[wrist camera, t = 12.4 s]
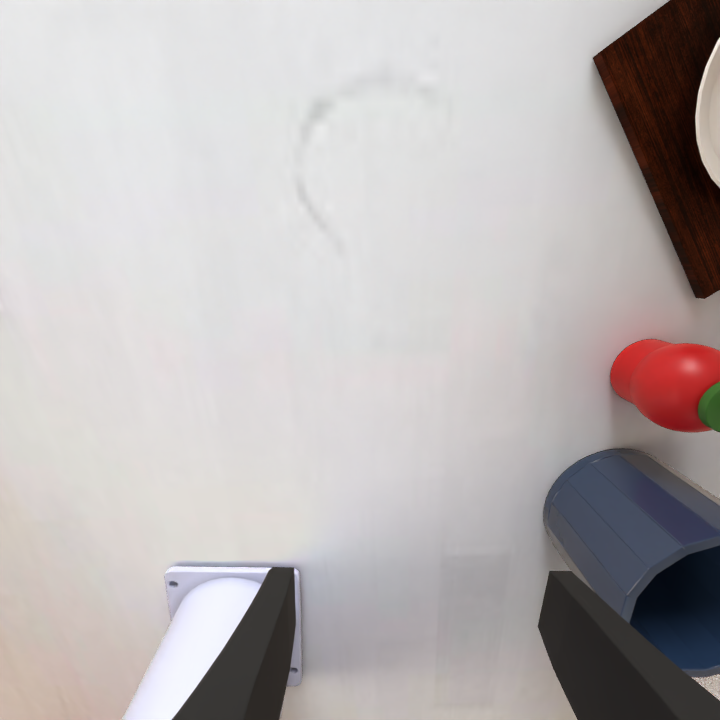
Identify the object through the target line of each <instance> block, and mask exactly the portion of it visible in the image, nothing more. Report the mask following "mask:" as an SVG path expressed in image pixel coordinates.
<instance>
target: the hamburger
mask: <svg viewBox="0 0 720 720" xmlns="http://www.w3.org/2000/svg"><path fill="white" fill-rule="evenodd" d="M593 60H594V62H595V65H596V67H597V69H598V71H599V74H600V76H601V78H602V81H603V83H604V85H605V88H606V90H607V92H608V95H609V97H610V99H611V102H612V104H613V106H614V109H615V111H616V113H617V116H618V118H619V120H620V122H621V125H622V127H623V129H624V132H625V134H626V136H627V139H628V141H629V143H630V146H631V148H632V150H633V153H634V155H635V157H636V160H637V162H638V164H639V166H640V169H641V171H642V173H643V176H644V178H645V180H646V183H647V185H648V187H649V190H650V192H651V194H652V197H653V199H654V201H655V204H656V206H657V208H658V211H659V213H660V215H661V217H662V220H663V222H664V224H665V227H666V229H667V231H668V234H669V236H670V238H671V241H672V243H673V245H674V248H675V250H676V252H677V255H678V257H679V259H680V262H681V264H682V266H683V268H684V271H685V273H686V275H687V278H688V280H689V282H690V285H691V287H692V289H693V292H694V294H695V296H696V298H702V299H705V298H707V297H709V296H710V295H712V294H714V293H715V292H717V291H719V290H720V0H670V1H669V2H667V3H666V4H664V5H663V6H662V7H660V8H659V9H658V10H656V11H655V12H654V13H652V14H651V15H650V16H648V17H647V18H645V19H644V20H643V21H641V22H640V23H639V24H637V25H636V26H635V27H633V28H632V29H630V30H629V31H628V32H626V33H625V34H624V35H622V36H621V37H620V38H618V39H617V40H616V41H614V42H613V43H611V44H610V45H609V46H607V47H606V48H605V49H603V50H602V51H601V52H599V53H598V54H597V55H596V56H595V57H593Z"/></svg>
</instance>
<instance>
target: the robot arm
mask: <svg viewBox="0 0 720 720" xmlns="http://www.w3.org/2000/svg"><path fill="white" fill-rule="evenodd" d="M164 578H165V584H166V591H167V597H168V604H169V610H170V617H171V623H170V625H169V627H168V629H167V631H166V633H165V635H164V637H163V639H162V641H161V643H160V645H159V647H158V649H157V651H156V653H155V655H154V657H153V659H152V661H151V663H150V665H149V667H148V669H147V671H146V673H145V675H144V677H143V679H142V681H141V683H140V684H139V686H138V688H137V690H136V692H135V694H134V696H133V698H132V700H131V702H130V704H129V706H128V708H127V710H126V712H125V714H124V716H123V718H122V720H280V719H281V713H282V707H283V701H284V695H285V690H286V686H298V685H300V684H301V682H302V637H301V598H300V573H299V571H298V570H296V569H295V568H286V567H272V568H259V567H183V566H174V567H170V568H169V569H168V570H167V572H166V573H165V576H164ZM174 581H175V582H174ZM538 628H539V631H540V633H541V636H542V639H543V642H544V645H545V648H546V650H547V653H548V656H549V658H550V661H551V663H552V666H553V669H554V671H555V673H556V676H557V678H558V680H559V682H560V684H561V686H562V688H563V690H564V692H565V695H566V697H567V699H568V701H569V703H570V705H571V707H572V709H573V711H574V713H575V715H576V717H577V719H578V720H720V701H719V700H718V699H717V698H715V697H714V696H713V695H712V694H711V693H709V692H708V691H707V690H706V689H705V688H703V687H702V686H701V685H700V684H698V683H697V682H696V681H695V680H694V679H692V678H691V677H690V676H689V675H688V674H686V673H685V672H684V671H683V670H682V669H680V668H679V667H678V666H677V665H676V664H674V663H673V662H672V661H671V660H670V659H669V658H667V657H666V656H665V655H664V654H663V653H662V652H660V651H659V650H658V649H657V648H656V647H655V646H654V645H652V644H651V643H650V642H649V641H648V640H647V639H646V638H645V637H643V636H642V635H641V634H640V633H639V632H638V631H637V630H636V629H634V628H633V627H632V626H631V625H630V624H629V623H628V622H627V621H626V620H624V619H623V618H622V617H621V616H620V615H619V614H618V613H617V612H616V611H615V610H613V609H612V608H611V607H610V606H609V605H608V604H607V603H606V602H605V601H604V600H602V599H601V598H600V597H599V596H598V595H597V594H596V593H595V592H594V591H593V590H592V589H590V588H589V587H588V586H587V585H586V584H585V583H584V582H583V581H582V580H580V579H579V578H578V577H577V576H576V575H575V574H574V573H572V572H571V571H550V572H549V576H548V581H547V586H546V590H545V595H544V600H543V605H542V609H541V614H540V619H539V623H538Z"/></svg>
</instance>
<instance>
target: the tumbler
mask: <svg viewBox="0 0 720 720" xmlns="http://www.w3.org/2000/svg"><path fill="white" fill-rule="evenodd" d="M543 517H544V525H545V528H546V531H547V534H548V535H549V537H550V539H551V540H552V542H553V545H554V547H555V548H556V549H557V551H558V552H559V554H560V555H561V557H562V558H563V560H564V561H565V563H566V564H567V566H568V567H569V569H570V570H571V572H572V573H574V574H575V575H576V576H577V577H578V578H579V579H580V580H582V581H583V582H584V583H585V584H586V585H587V586H588V587H589V588H590V589H592V590H593V591H594V592H595V593H596V594H597V595H598V596H599V597H600V598H601V599H602V600H604V601H605V602H606V603H607V604H608V605H609V606H610V607H611V608H612V609H613V610H615V611H616V612H617V613H618V614H619V615H620V616H621V617H622V618H623V619H624V620H626V621H627V622H628V623H629V624H630V625H631V626H632V627H633V628H634V629H636V630H637V631H638V632H639V633H640V634H641V635H642V636H643V637H645V638H646V639H647V640H648V641H649V642H650V643H651V644H652V645H654V646H655V647H656V648H657V649H658V650H659V651H660V652H662V653H663V654H664V655H665V656H666V657H667V658H669V659H670V660H671V661H672V662H673V663H674V664H676V665H677V666H678V667H679V668H680V669H682V670H683V671H684V672H685V673H686V674H688V675H689V676H690V677H709V676H712V675H716V674H720V499H718V498H717V497H715V496H714V495H712V494H711V493H709V492H708V491H707V490H705V489H704V488H702V487H701V486H699V485H698V484H696V483H695V482H693V481H692V480H690V479H689V478H687V477H686V476H684V475H683V474H681V473H680V472H678V471H677V470H675V469H674V468H672V467H671V466H669V465H668V464H666V463H663V462H661V461H660V460H658V459H657V458H655V457H653V456H652V455H650V454H647V453H645V452H642V451H637V450H632V449H612V450H605V451H602V452H598V453H595V454H592V455H590V456H587V457H585V458H583V459H581V460H579V461H578V462H576V463H575V464H573V465H572V466H571V467H569V468H568V469H567V470H566V471H564V473H563V474H562V475H561V476H560V477H559V478H558V479H557V480H556V482H555V483H554V484H553V486H552V488H551V489H550V491H549V493H548V495H547V498H546V501H545V505H544V512H543Z"/></svg>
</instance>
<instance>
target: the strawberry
mask: <svg viewBox="0 0 720 720" xmlns="http://www.w3.org/2000/svg"><path fill="white" fill-rule="evenodd" d="M610 379H611V384H612V387H613V389H614V390H615V392H616V393H617V394H618V395H619V396H620V397H621V398H623V399H625V400H627V401H629V402H631V403H633V404H634V405H636V407H637V408H638V410H639V411H640V412H641V413H642V414H643V415H644V416H645V417H647V418H648V419H649V420H651V421H652V422H654V423H656V424H658V425H660V426H662V427H665V428H667V429H671V430H675V431H680V432H704V431H709V430H715V431H718V432H720V351H719V350H716V349H714V348H711V347H708V346H704V345H699V344H689V343H683V344H671V343H668V342H664V341H661V340H657V339H646V340H641V341H638V342H635V343H633V344H631V345H630V346H628V347H627V348H625V349H624V350H623V351H622V352H621V353H620V354H619V355H618V357H617V358H616V360H615V361H614V363H613V366H612V369H611V374H610Z"/></svg>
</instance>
